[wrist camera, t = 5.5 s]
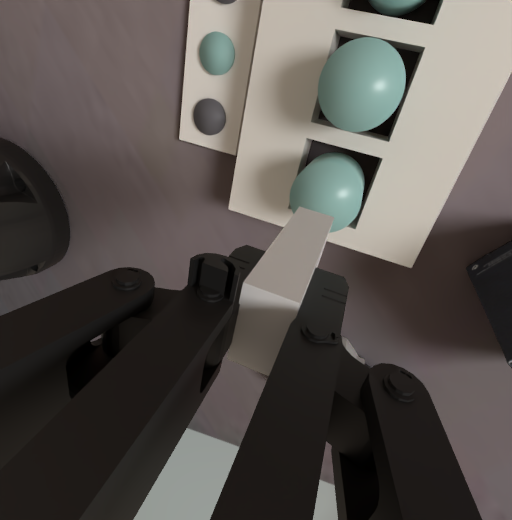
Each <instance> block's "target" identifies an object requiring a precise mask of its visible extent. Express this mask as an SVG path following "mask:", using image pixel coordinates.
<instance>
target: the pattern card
mask: <svg viewBox="0 0 512 520" xmlns="http://www.w3.org/2000/svg"><path fill="white" fill-rule="evenodd" d="M262 4H263V0H190V8H189V20H188V33H187V46H186V58H185V71H184V84H183V96H182V109H181V122H180V134H179V139H180V140H183V141H187V142H190V143H193V144H197V145H200V146H204V147H207V148H211V149H214V150H218V151H221V152H225V153H228V154H231V155H235V156H236V155H237V154H238V148H239V142H240V136H241V130H242V124H243V118H244V112H245V106H246V100H247V94H248V88H249V82H250V76H251V70H252V64H253V58H254V52H255V46H256V40H257V34H258V28H259V22H260V16H261V10H262Z"/></svg>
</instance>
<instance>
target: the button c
mask: <svg viewBox="0 0 512 520" xmlns="http://www.w3.org/2000/svg"><path fill="white" fill-rule="evenodd" d="M368 1H369V3H370V4H371V5H372V7H373V8H374V9H375V10H377V11H378V12H380V13H382V14H384V15H387V16H401V15H405V14H408V13H410V12H412V11H414V10H415V9H417V8H419V7H420V6H421V5H422V4H423V3H425V2H426V1H427V0H368Z"/></svg>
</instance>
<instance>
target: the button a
mask: <svg viewBox="0 0 512 520" xmlns="http://www.w3.org/2000/svg"><path fill="white" fill-rule="evenodd" d="M364 185H365V179H364V174H363V171H362V168H361V167H360V165H359V164H358V162H357V161H356V160H355V159H353V158H352V157H351V156H349V155H347V154H344V153H340V152H329V153H325V154H322V155H320V156H318V157H316V158H315V159H314V160H313V161H312V162H311V163H310V164H309V165H308V166H307V167H306V168H305V169H304V170H303V171H302V172H301V173H300V174H299V175H298V176H297V177H296V179H295V180H294V182H293V184H292V187H291V190H290V206H291V209H292V212H293V214H294V213H295V212H296V210H297V209H298V208H299V206H300V207H303V208H306V209H309V210H313V211H316V212H319V213H322V214H325V215H329V216H332V217H334V220H333V223H332V226H331V229H330V232H329V233H331V232H336V231H339V230H341V229H343V228H345V227H346V226H348V225H349V224H350V223H351V222H352V221H353V220H354V219H355V217H356V216H357V214H358V212H359V210H360V207H361V202H362V196H363V191H364Z"/></svg>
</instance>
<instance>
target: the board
mask: <svg viewBox="0 0 512 520" xmlns="http://www.w3.org/2000/svg"><path fill="white" fill-rule="evenodd" d="M349 3H350V0H263V4H262V10H261V16H260V22H259V28H258V34H257V40H256V46H255V52H254V58H253V64H252V70H251V76H250V82H249V88H248V94H247V100H246V106H245V112H244V118H243V124H242V130H241V136H240V142H239V148H238V154H237V160H236V166H235V172H234V178H233V184H232V190H231V196H230V202H229V208H228V209H229V210H232V211H235V212H238V213H242V214H245V215H248V216H251V217H254V218H257V219H260V220H263V221H266V222H269V223H273V224H276V225H279V226H282V227H285V225H286V224H287V223H288V221H289V220H290V218H291V217H292V216H293V212H292V209H291V206H290V190H291V187H292V184H293V182H294V180H295V179H296V177H297V176H298V175H299V174H300V173H301V172H302V171H303V170H304V169H305V165H306V161H307V158H308V154H309V150H310V147H311V143H312V140H316V141H319V142H323V143H327V144H331V145H334V146H338V147H342V148H346V149H349V150H353V151H357V152H361V153H364V154H368V155H372V156H376V157H379V158H380V159H379V162H378V165H377V167H376V170H375V172H374V175H373V178H372V180H371V183H370V186H369V188H368V191H367V194H366V196H365V199H364V201H363V204H362V207H361V209H360V212H359V215H358V216H356V217H355V219H354V220H353V221H352V222H351V223H350V224H349V225H348V226H346V227H345V228H343V229H341V230H339V231H336V232H331V233H329V235H328V238H327V241H328V242H331V243H335V244H338V245H341V246H344V247H347V248H350V249H353V250H356V251H359V252H362V253H366V254H369V255H372V256H375V257H378V258H381V259H384V260H387V261H390V262H393V263H397V264H400V265H403V266H406V267H409V268H412V266H413V264H414V262H415V260H416V258H417V256H418V255H419V253H420V251H421V249H422V247H423V245H424V243H425V241H426V239H427V237H428V235H429V233H430V231H431V229H432V227H433V225H434V223H435V221H436V219H437V217H438V215H439V213H440V211H441V209H442V208H443V206H444V204H445V202H446V200H447V198H448V196H449V194H450V192H451V190H452V188H453V186H454V184H455V182H456V180H457V178H458V176H459V174H460V172H461V170H462V168H463V166H464V164H465V162H466V161H467V159H468V157H469V155H470V153H471V151H472V149H473V147H474V145H475V143H476V141H477V139H478V137H479V135H480V133H481V131H482V129H483V127H484V125H485V123H486V121H487V119H488V117H489V115H490V114H491V112H492V110H493V108H494V106H495V104H496V102H497V100H498V98H499V96H500V94H501V92H502V90H503V88H504V86H505V84H506V82H507V80H508V78H509V76H510V74H511V72H512V0H440V1H439V4H438V7H437V9H436V12H435V15H434V17H433V20H432V22H431V24H426V23H420V22H415V21H410V20H405V19H399V18H394V17H389V16H383V15H378V14H373V13H367V12H362V11H357V10H352V9H348V7H349ZM340 36H341V37H346V38H351V39H357V38H363V37H372V38H377V39H381V40H383V41H385V42H387V43H389V44H390V45H391V46H392V47H395V48H400V49H405V50H409V51H414V52H419V53H420V54H419V57H418V59H417V62H416V65H415V67H414V70H413V72H412V75H411V78H410V80H409V83H408V86H407V88H406V91H405V94H404V96H403V99H402V101H401V104H400V107H399V109H398V112H397V115H396V117H395V120H394V122H393V125H392V128H391V130H390V133H389V136H384V135H380V134H376V133H372V132H369V131H362V132H350V131H345V130H342V129H340V128H338V127H336V126H335V125H333V124H332V123H331V122H329V121H325V120H321V119H318V117H319V114H320V110H321V107H320V104H319V99H318V83H319V78H320V75H321V72H322V69H323V67H324V65H325V64H326V62H327V60H328V59H329V58H330V56H331V55H332V54H333V53H334V52H335V51H336V50H337V48H338V44H339V40H340Z"/></svg>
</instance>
